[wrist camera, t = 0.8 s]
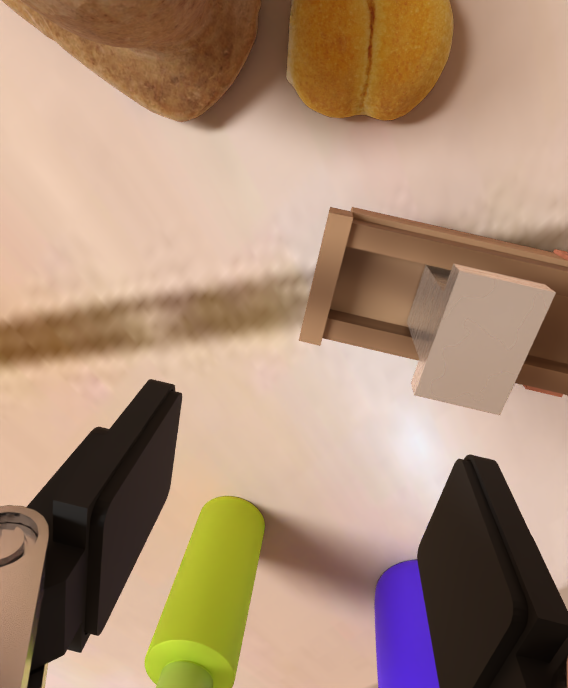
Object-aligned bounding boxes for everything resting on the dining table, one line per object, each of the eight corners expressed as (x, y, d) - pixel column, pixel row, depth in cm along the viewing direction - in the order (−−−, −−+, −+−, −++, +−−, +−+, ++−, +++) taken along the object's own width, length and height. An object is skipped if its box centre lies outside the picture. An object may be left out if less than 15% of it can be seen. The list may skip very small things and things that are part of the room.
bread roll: (435, 122, 29) (448, 120, 25) (286, 115, 30) (278, 113, 26) (461, -50, 26) (481, -80, 22) (293, -52, 26) (285, -82, 23)
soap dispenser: (238, 478, 41) (153, 755, 22) (276, 536, 43) (227, 834, 25) (181, 499, 42) (58, 774, 24) (220, 554, 44) (135, 846, 26)
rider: (433, 240, 25) (459, 270, 20) (508, 257, 25) (556, 292, 20) (399, 342, 28) (414, 395, 22) (467, 358, 28) (499, 415, 22)
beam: (333, 191, 31) (330, 208, 24) (760, 288, 30) (893, 335, 23) (307, 299, 34) (298, 344, 27) (695, 388, 33) (795, 459, 26)
